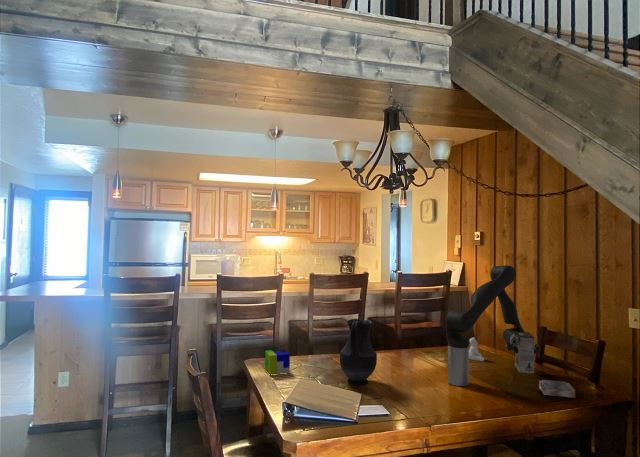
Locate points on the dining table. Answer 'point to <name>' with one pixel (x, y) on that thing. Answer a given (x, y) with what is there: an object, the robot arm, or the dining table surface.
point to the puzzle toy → (277, 361)
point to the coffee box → (524, 352)
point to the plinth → (556, 388)
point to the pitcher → (358, 353)
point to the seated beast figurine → (474, 351)
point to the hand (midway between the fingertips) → (525, 351)
